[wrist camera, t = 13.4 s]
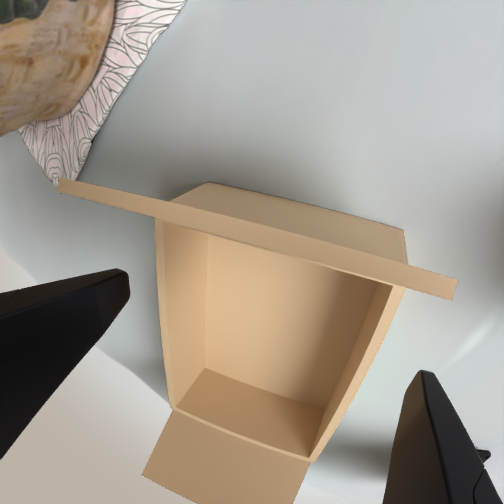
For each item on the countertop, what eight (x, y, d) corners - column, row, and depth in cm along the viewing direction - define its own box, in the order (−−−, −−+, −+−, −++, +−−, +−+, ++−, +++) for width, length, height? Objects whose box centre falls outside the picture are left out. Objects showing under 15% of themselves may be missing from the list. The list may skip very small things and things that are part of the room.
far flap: (310, 461, 22) (310, 461, 22) (173, 409, 25) (174, 410, 25) (278, 533, 18) (278, 531, 18) (141, 474, 21) (143, 474, 22)
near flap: (158, 209, 16) (161, 200, 16) (403, 276, 13) (406, 265, 13) (56, 191, 10) (59, 177, 10) (452, 300, 6) (458, 279, 6)
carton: (330, 409, 27) (314, 462, 22) (201, 364, 30) (170, 407, 25) (403, 229, 18) (409, 278, 13) (208, 181, 22) (154, 208, 17)
